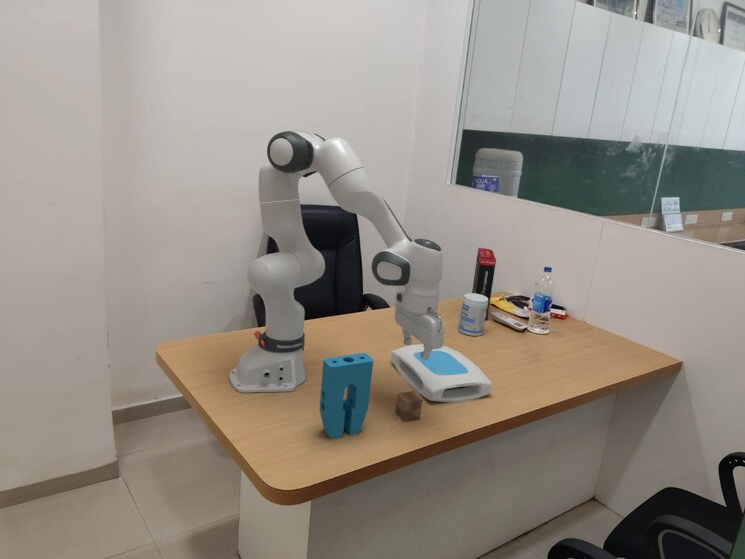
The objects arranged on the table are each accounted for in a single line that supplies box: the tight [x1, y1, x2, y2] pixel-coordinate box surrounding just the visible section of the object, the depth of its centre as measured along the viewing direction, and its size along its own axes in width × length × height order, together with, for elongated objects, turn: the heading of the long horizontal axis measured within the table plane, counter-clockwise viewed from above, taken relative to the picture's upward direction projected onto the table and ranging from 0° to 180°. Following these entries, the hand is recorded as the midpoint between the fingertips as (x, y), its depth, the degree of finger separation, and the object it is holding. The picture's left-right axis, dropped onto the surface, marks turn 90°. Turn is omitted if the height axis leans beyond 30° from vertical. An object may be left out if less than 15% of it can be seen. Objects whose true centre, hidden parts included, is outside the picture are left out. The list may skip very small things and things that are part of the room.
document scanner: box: [391, 343, 493, 404], centre depth 171 cm, size 21×28×6 cm
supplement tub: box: [458, 292, 488, 337], centre depth 212 cm, size 10×10×15 cm
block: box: [319, 352, 374, 440], centre depth 136 cm, size 12×5×20 cm, turn 119°
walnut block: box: [394, 390, 423, 423], centre depth 148 cm, size 5×5×6 cm
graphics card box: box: [471, 247, 497, 321], centre depth 232 cm, size 17×7×27 cm, turn 174°
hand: (415, 351), depth 145 cm, fingers open, 8 cm apart
